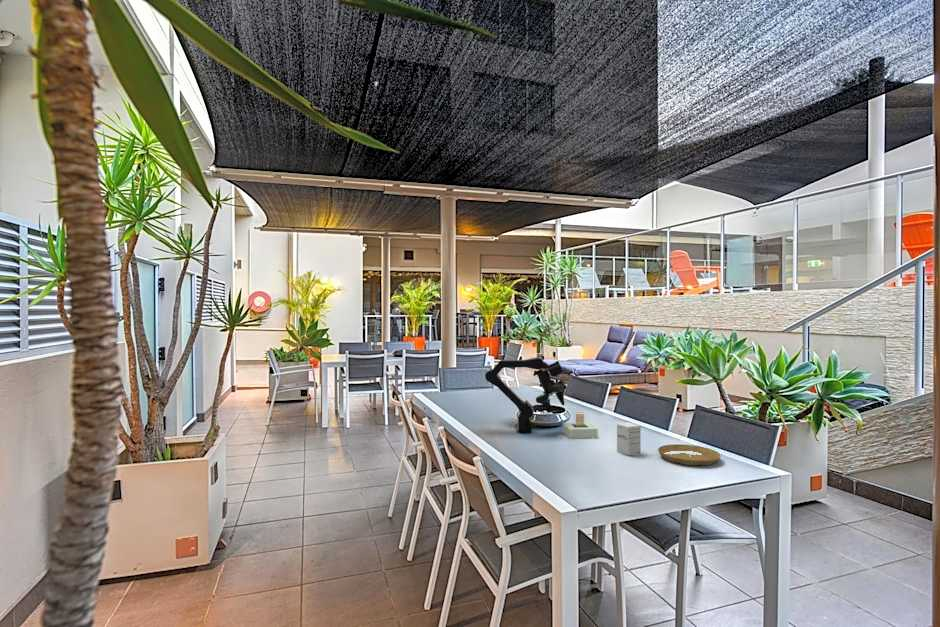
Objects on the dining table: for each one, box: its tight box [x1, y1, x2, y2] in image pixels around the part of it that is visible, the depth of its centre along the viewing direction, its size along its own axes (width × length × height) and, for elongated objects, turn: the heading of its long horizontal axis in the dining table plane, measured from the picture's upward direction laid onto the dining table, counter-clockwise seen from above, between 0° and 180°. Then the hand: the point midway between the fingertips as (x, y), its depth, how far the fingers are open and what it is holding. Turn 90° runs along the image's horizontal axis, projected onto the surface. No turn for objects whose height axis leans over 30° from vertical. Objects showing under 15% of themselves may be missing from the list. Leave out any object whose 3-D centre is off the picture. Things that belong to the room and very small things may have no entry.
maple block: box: [575, 411, 585, 428], centre depth 246 cm, size 4×4×11 cm
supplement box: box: [616, 421, 642, 457], centre depth 215 cm, size 7×7×13 cm
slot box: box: [562, 421, 599, 439], centre depth 246 cm, size 14×14×4 cm
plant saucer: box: [657, 443, 722, 466], centre depth 206 cm, size 24×24×3 cm
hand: (558, 408), depth 250 cm, fingers open, 9 cm apart
